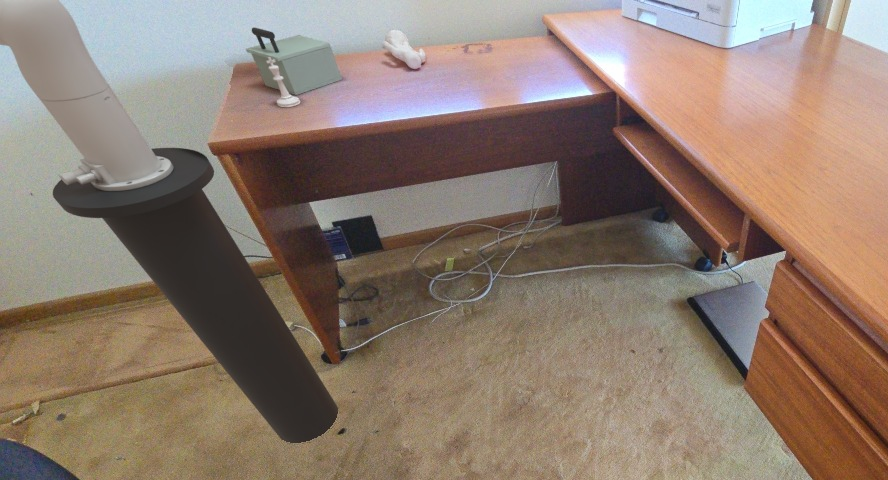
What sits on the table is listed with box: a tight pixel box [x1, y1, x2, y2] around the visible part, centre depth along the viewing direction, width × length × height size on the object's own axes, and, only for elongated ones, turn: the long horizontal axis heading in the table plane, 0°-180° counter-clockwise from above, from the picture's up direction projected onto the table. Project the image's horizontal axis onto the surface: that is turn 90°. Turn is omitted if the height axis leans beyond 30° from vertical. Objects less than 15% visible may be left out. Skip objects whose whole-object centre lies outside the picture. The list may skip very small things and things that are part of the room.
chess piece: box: [266, 57, 301, 108], centre depth 119 cm, size 5×5×10 cm
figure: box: [381, 29, 427, 70], centre depth 145 cm, size 11×7×20 cm
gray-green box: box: [250, 46, 343, 96], centre depth 130 cm, size 14×12×8 cm
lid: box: [245, 27, 331, 61], centre depth 125 cm, size 14×12×5 cm
